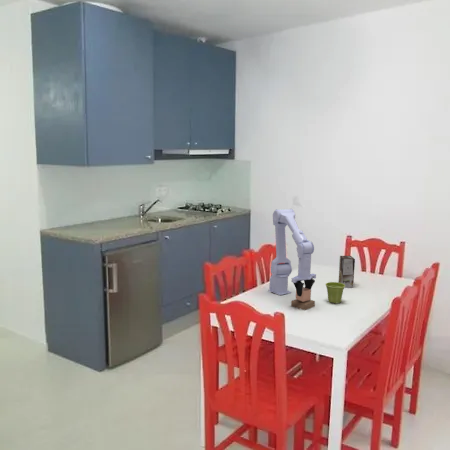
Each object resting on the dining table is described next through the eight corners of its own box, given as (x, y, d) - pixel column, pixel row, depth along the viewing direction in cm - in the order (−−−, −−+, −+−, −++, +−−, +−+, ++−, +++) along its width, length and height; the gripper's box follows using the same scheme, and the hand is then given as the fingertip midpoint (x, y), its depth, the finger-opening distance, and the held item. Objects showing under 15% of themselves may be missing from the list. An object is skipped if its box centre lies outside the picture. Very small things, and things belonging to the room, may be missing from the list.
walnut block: (291, 306, 219) (291, 300, 219) (300, 303, 225) (300, 297, 225) (305, 311, 214) (305, 304, 213) (314, 307, 220) (314, 301, 219)
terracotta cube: (295, 298, 220) (296, 288, 219) (302, 296, 222) (303, 287, 222) (303, 301, 216) (303, 291, 215) (310, 299, 219) (311, 289, 218)
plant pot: (330, 305, 221) (331, 288, 220) (321, 299, 230) (322, 282, 229) (347, 303, 224) (348, 286, 222) (338, 298, 233) (339, 281, 231)
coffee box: (353, 288, 250) (355, 259, 247) (341, 287, 250) (343, 258, 248) (349, 283, 259) (351, 255, 256) (338, 283, 259) (339, 255, 257)
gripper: (299, 271, 209) (298, 299, 211) (321, 266, 217) (320, 294, 220) (288, 267, 215) (287, 295, 217) (310, 263, 223) (309, 290, 225)
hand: (303, 294), depth 219 cm, fingers closed on terracotta cube, 5 cm apart
